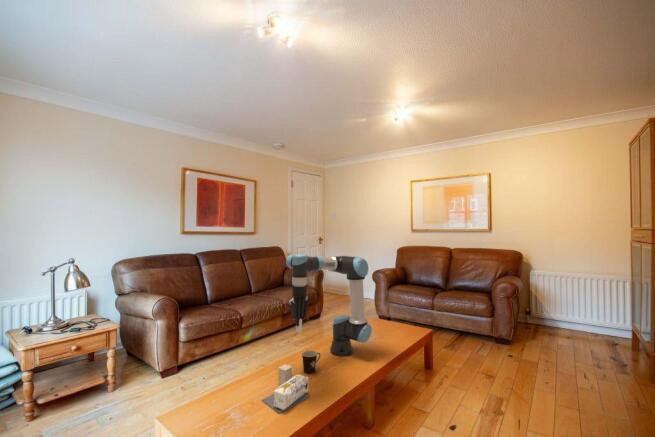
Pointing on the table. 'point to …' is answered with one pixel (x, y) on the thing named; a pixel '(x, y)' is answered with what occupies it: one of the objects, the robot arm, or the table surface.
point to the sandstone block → (284, 374)
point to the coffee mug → (309, 361)
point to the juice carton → (290, 391)
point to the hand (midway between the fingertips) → (299, 331)
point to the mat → (270, 403)
